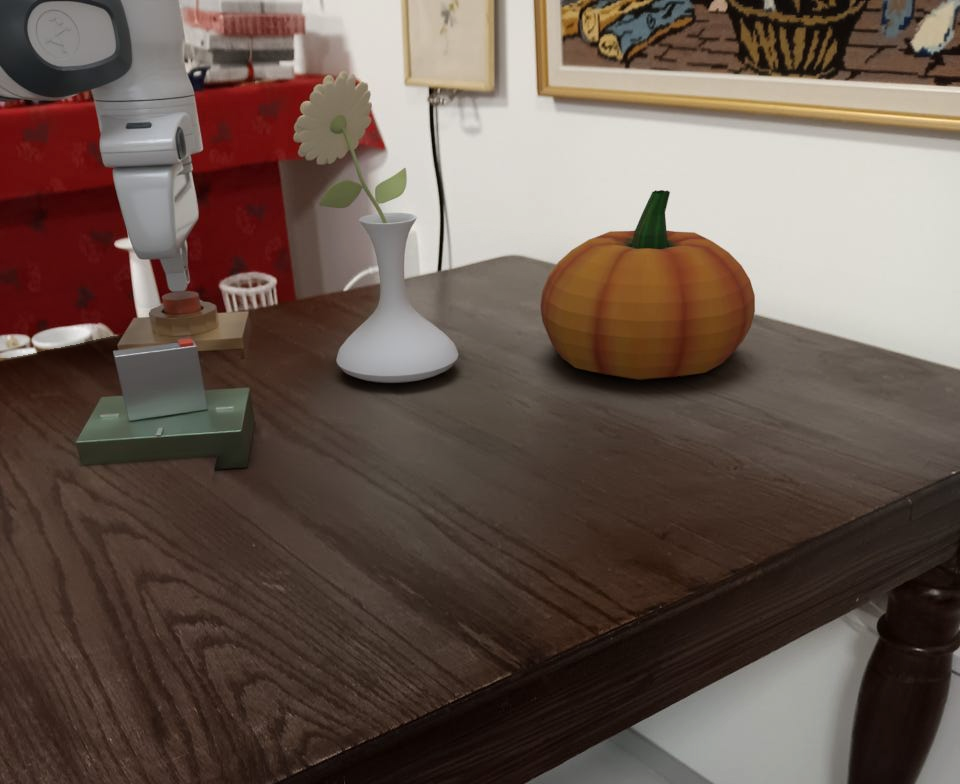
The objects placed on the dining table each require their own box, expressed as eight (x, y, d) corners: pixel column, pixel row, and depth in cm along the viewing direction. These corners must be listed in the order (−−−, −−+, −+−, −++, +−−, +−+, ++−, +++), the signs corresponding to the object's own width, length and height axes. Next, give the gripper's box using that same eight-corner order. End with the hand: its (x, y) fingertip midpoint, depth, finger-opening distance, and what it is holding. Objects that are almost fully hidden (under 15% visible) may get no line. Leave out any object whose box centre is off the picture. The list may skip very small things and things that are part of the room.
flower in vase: (430, 349, 100) (415, 63, 86) (479, 381, 91) (470, 68, 78) (306, 370, 95) (269, 71, 82) (344, 405, 87) (310, 77, 73)
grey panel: (129, 421, 76) (113, 353, 73) (127, 414, 77) (111, 347, 74) (208, 409, 78) (196, 342, 75) (205, 403, 79) (193, 337, 76)
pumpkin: (503, 374, 93) (500, 201, 85) (599, 324, 106) (605, 171, 98) (696, 410, 83) (714, 220, 75) (775, 350, 97) (798, 183, 89)
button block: (121, 367, 97) (112, 326, 95) (138, 338, 106) (129, 300, 104) (245, 359, 99) (239, 318, 96) (251, 331, 107) (246, 293, 105)
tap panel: (84, 480, 74) (74, 440, 72) (109, 431, 83) (100, 394, 81) (247, 468, 75) (240, 428, 74) (255, 421, 84) (249, 384, 82)
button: (162, 318, 99) (159, 300, 98) (167, 309, 102) (164, 292, 101) (199, 316, 99) (196, 298, 98) (203, 307, 102) (200, 290, 101)
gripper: (134, 123, 100) (162, 266, 107) (94, 147, 83) (131, 316, 90) (198, 120, 100) (221, 263, 108) (171, 144, 83) (201, 312, 91)
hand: (180, 287), depth 99 cm, fingers closed
